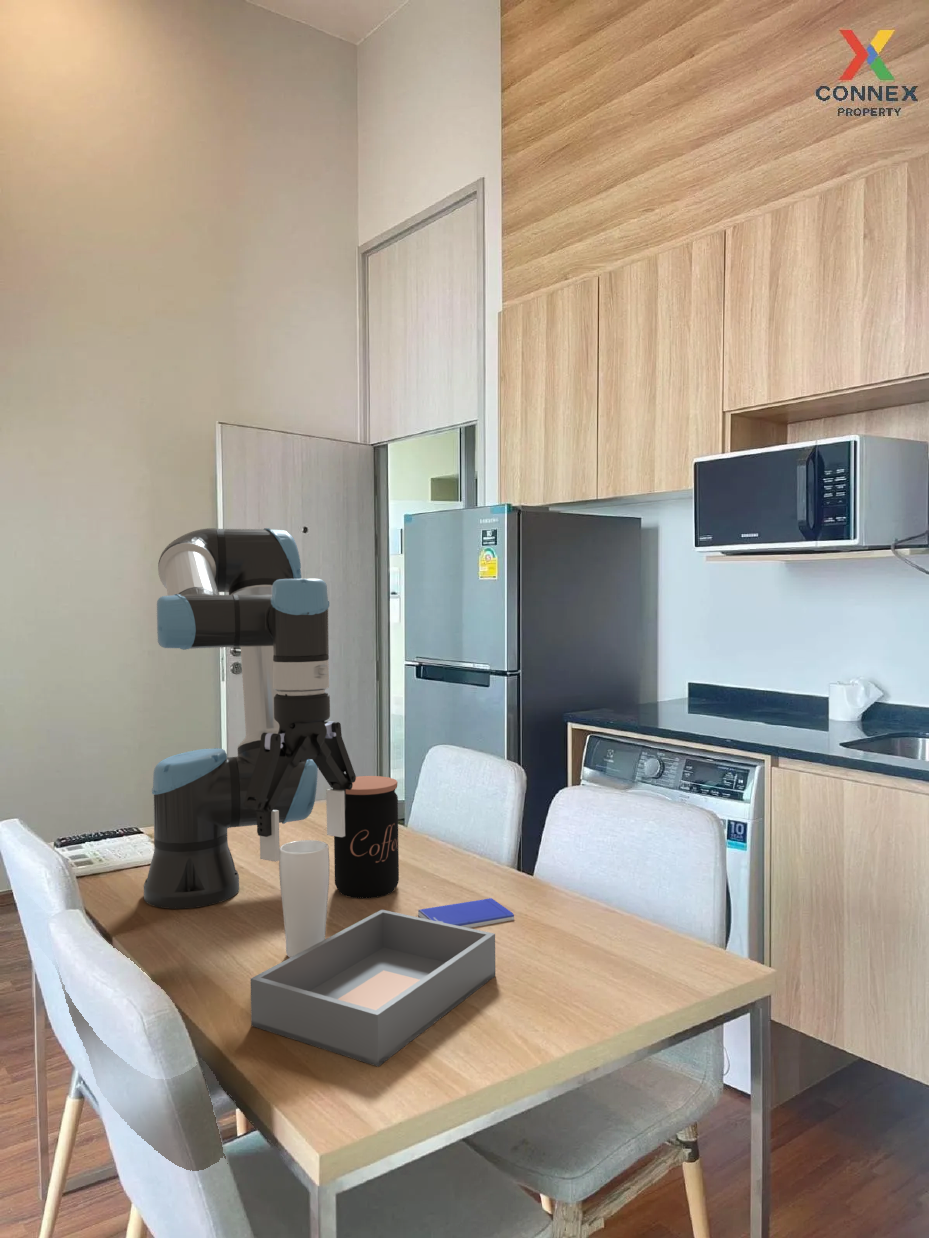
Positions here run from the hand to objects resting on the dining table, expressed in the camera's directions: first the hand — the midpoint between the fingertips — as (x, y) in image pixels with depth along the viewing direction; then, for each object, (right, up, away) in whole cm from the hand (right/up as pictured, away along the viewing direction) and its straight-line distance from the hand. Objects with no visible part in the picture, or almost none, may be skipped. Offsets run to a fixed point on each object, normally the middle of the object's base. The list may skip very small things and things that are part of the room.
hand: (304, 847), depth 123 cm
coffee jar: (+6, -14, +28) cm, 32 cm away
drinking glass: (0, -15, +1) cm, 15 cm away
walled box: (+12, -15, -13) cm, 23 cm away
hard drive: (+22, -15, +14) cm, 30 cm away
